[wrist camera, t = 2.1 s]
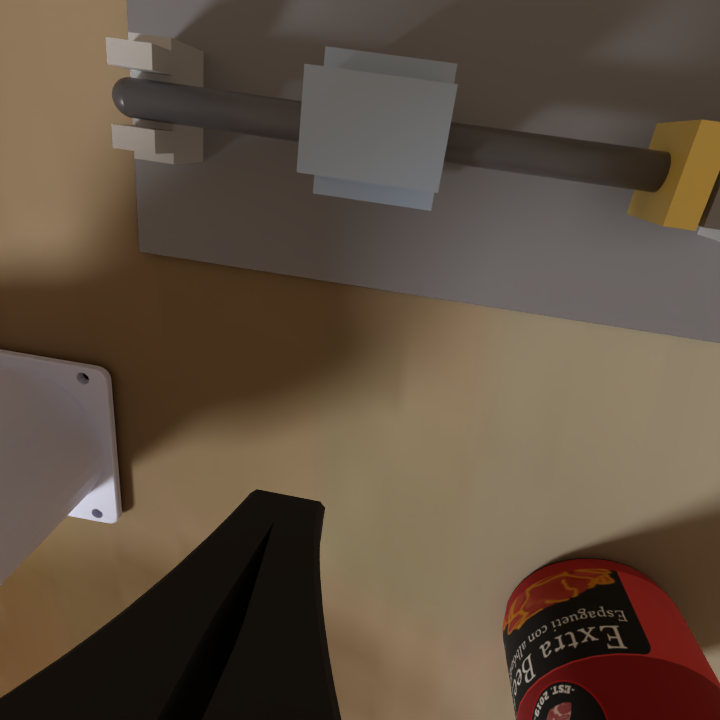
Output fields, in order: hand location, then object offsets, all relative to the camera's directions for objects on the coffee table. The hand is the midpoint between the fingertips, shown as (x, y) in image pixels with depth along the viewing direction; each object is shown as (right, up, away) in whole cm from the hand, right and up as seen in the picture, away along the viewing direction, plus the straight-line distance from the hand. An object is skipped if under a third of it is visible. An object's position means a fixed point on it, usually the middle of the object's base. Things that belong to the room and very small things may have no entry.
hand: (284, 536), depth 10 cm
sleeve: (+2, +10, +5) cm, 12 cm away
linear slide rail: (+4, +10, +6) cm, 13 cm away
